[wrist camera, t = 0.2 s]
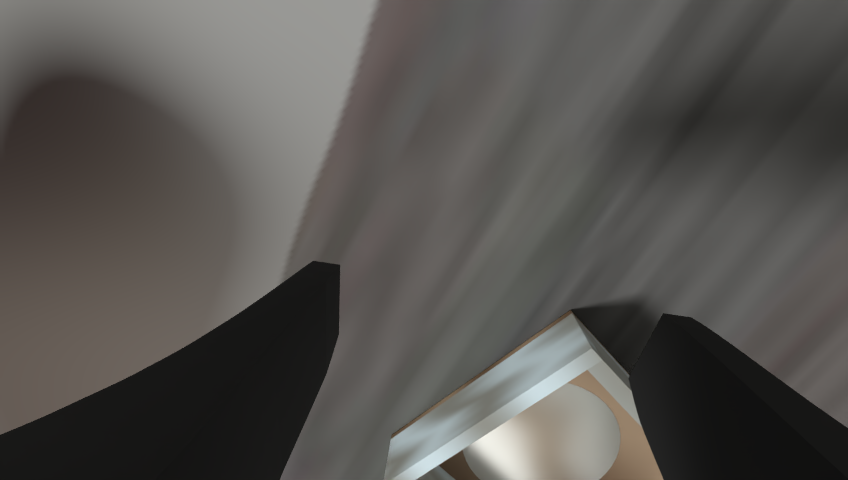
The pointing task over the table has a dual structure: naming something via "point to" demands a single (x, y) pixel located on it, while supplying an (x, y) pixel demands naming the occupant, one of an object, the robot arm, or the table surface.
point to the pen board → (532, 419)
